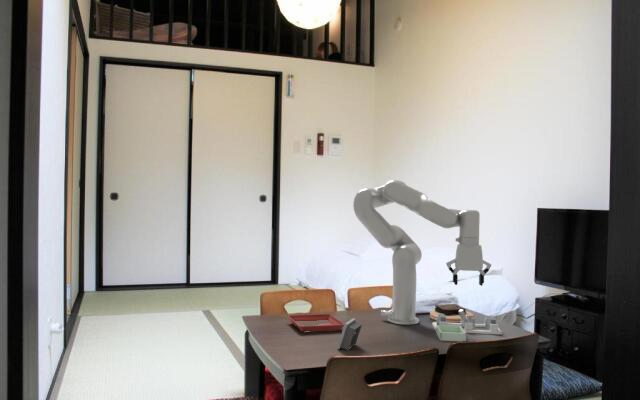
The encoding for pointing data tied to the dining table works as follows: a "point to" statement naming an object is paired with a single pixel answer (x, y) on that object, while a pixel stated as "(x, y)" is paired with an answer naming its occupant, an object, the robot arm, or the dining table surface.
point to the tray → (450, 333)
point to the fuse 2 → (490, 321)
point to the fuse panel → (469, 327)
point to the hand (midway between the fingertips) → (468, 284)
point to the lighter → (466, 320)
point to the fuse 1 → (441, 318)
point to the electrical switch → (349, 334)
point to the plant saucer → (334, 321)
